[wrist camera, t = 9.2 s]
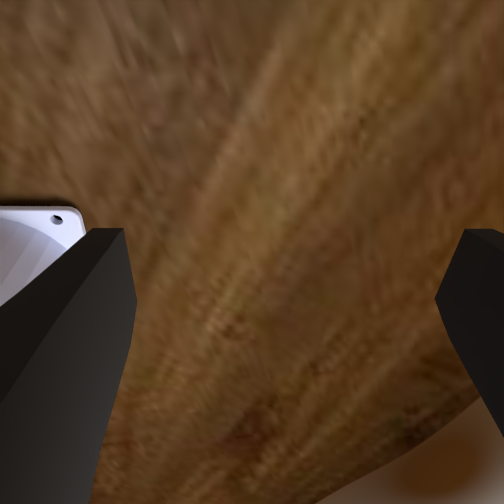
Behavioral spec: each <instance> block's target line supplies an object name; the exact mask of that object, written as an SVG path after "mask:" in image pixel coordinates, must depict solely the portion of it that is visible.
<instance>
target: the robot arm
mask: <svg viewBox="0 0 504 504" xmlns="http://www.w3.org/2000/svg"><path fill="white" fill-rule="evenodd" d="M53 215H58V216H60V217H61V218H62V220H57V219H56V218H55V217H54V216H53ZM435 300H436V303H437V306H438V309H439V312H440V315H441V318H442V321H443V323H444V326H445V328H446V331H447V333H448V336H449V338H450V340H451V342H452V344H453V346H454V348H455V350H456V352H457V353H458V355H459V357H460V359H461V361H462V363H463V364H464V366H465V368H466V370H467V372H468V374H469V375H470V377H471V379H472V381H473V383H474V384H475V386H476V388H477V390H478V392H479V393H480V395H481V397H482V399H483V401H484V403H485V404H486V406H487V408H488V410H489V412H490V413H491V415H492V417H493V419H494V421H495V422H496V424H497V426H498V428H499V429H500V431H501V433H502V435H503V437H504V234H503V233H501V232H498V231H496V230H494V229H465V230H464V232H463V234H462V237H461V239H460V241H459V244H458V246H457V248H456V250H455V253H454V255H453V257H452V260H451V262H450V264H449V267H448V269H447V271H446V274H445V276H444V278H443V280H442V283H441V285H440V287H439V290H438V292H437V294H436V297H435ZM136 305H137V298H136V293H135V288H134V282H133V277H132V272H131V266H130V261H129V256H128V250H127V245H126V240H125V234H124V229H123V228H92V229H91V230H90V231H89V232H87V233H86V231H85V227H84V223H83V219H82V216H81V214H80V212H79V211H78V210H77V209H75V208H73V207H69V206H0V504H89V501H90V496H91V491H92V485H93V480H94V475H95V470H96V466H97V462H98V458H99V454H100V450H101V446H102V442H103V439H104V435H105V432H106V428H107V425H108V421H109V418H110V415H111V411H112V408H113V404H114V401H115V397H116V394H117V390H118V387H119V383H120V380H121V376H122V373H123V369H124V366H125V362H126V359H127V355H128V352H129V348H130V344H131V338H132V332H133V326H134V319H135V312H136Z"/></svg>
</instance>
